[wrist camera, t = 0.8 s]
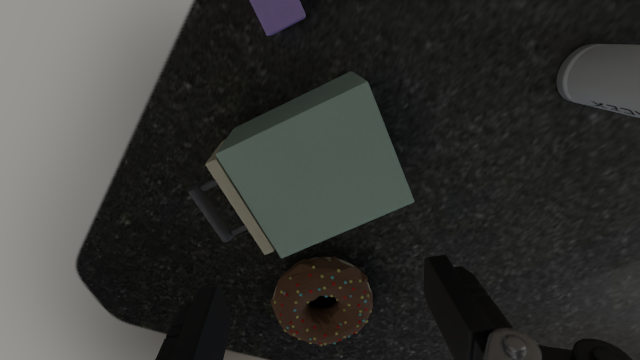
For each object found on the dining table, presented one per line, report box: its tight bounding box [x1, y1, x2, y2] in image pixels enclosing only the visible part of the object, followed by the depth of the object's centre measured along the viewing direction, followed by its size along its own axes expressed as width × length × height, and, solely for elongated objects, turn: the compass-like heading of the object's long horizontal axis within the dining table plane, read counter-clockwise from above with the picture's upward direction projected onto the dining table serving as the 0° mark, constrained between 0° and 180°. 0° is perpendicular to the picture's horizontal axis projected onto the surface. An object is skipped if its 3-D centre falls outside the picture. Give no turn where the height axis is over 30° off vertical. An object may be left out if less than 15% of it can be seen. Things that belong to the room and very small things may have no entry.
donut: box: [271, 256, 373, 346], centre depth 45 cm, size 14×14×5 cm
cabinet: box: [215, 71, 414, 258], centre depth 35 cm, size 15×13×9 cm
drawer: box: [188, 140, 275, 255], centre depth 35 cm, size 18×11×7 cm, turn 115°
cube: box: [250, 0, 306, 36], centre depth 31 cm, size 4×4×4 cm
